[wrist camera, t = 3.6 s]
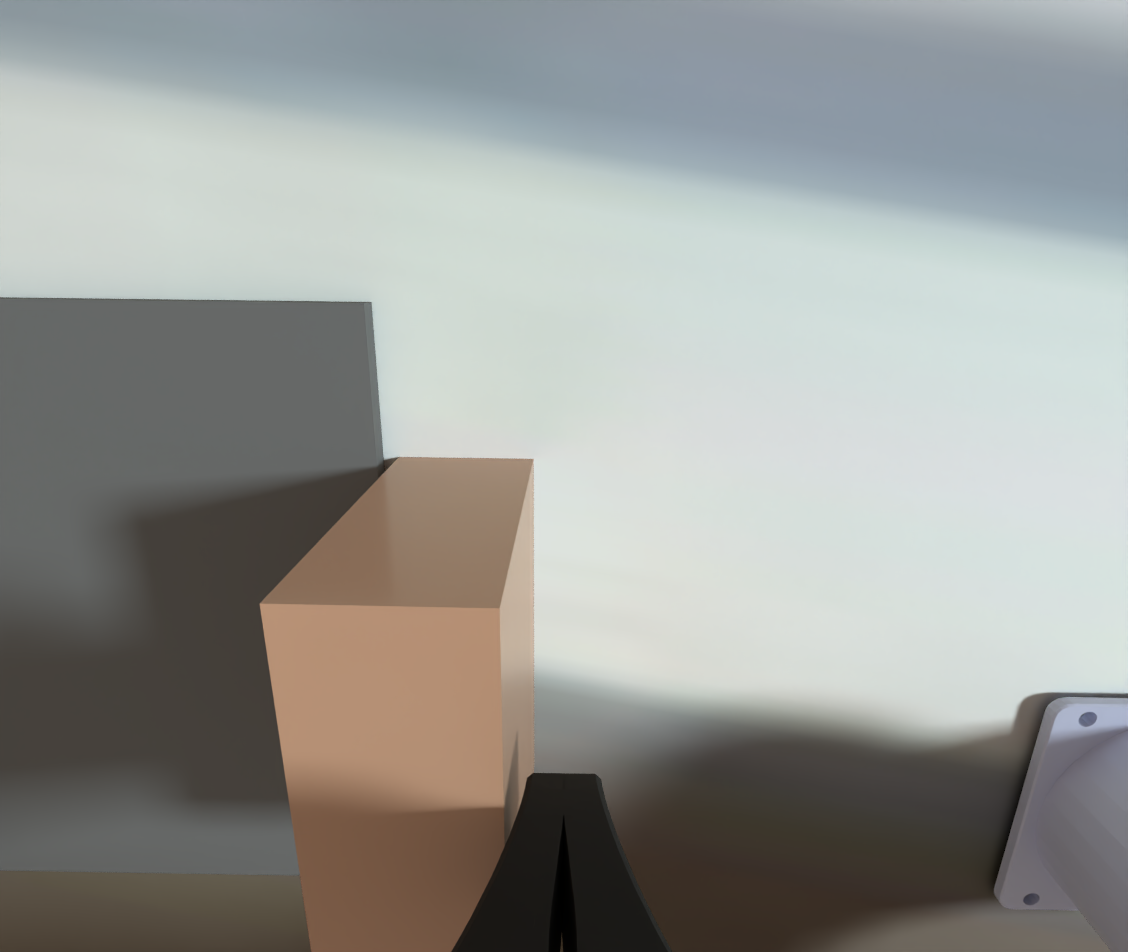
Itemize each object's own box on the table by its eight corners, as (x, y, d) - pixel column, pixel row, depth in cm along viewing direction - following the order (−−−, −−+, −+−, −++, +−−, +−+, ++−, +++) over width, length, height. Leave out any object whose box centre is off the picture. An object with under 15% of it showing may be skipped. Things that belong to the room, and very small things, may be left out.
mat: (371, 302, 16) (347, 306, 14) (414, 860, 21) (401, 912, 20) (-272, 293, 16) (-373, 297, 14) (-64, 852, 21) (-119, 903, 20)
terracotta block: (533, 458, 17) (499, 608, 10) (534, 763, 20) (509, 1060, 13) (399, 456, 17) (260, 603, 10) (420, 760, 20) (326, 1056, 13)
